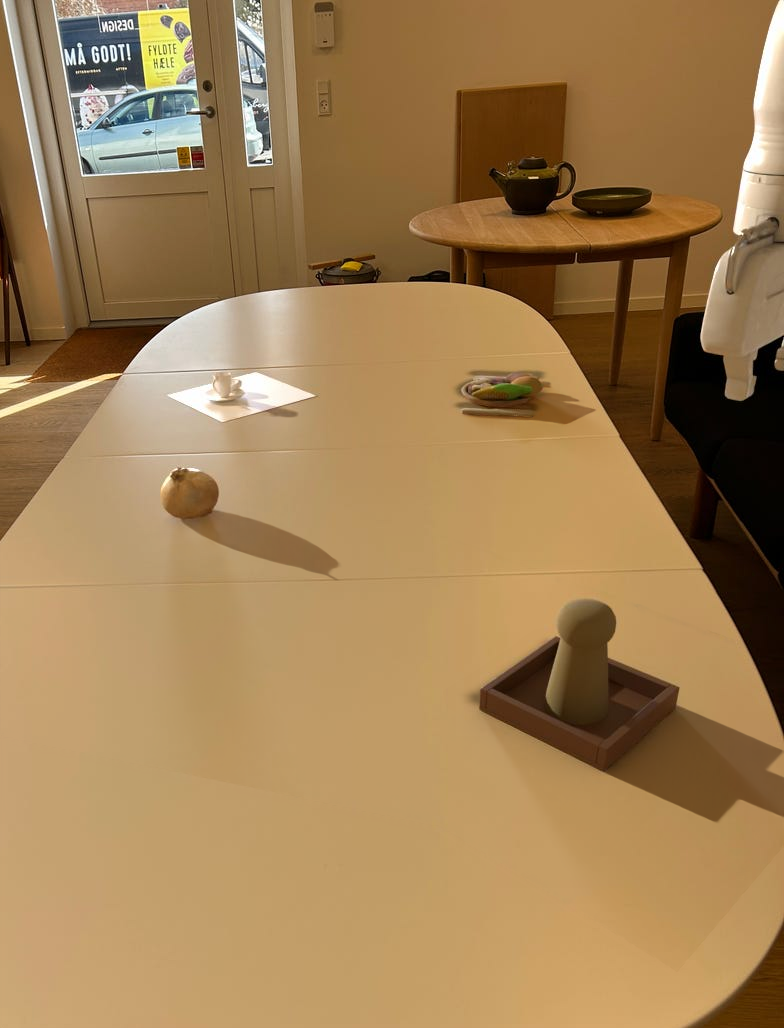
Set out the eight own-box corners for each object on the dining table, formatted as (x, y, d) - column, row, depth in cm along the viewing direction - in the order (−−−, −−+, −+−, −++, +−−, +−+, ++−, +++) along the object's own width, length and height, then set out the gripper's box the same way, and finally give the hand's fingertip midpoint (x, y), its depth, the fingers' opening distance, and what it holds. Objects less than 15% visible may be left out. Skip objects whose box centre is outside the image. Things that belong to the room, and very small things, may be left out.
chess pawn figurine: (530, 707, 92) (540, 608, 86) (565, 680, 96) (576, 583, 90) (587, 733, 88) (601, 631, 83) (620, 703, 92) (636, 604, 86)
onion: (179, 499, 139) (173, 452, 135) (229, 505, 137) (225, 457, 133) (153, 522, 133) (146, 474, 129) (206, 529, 130) (200, 480, 126)
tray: (675, 708, 92) (679, 687, 90) (603, 771, 85) (606, 749, 83) (553, 656, 100) (555, 635, 99) (478, 709, 93) (480, 688, 92)
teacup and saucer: (234, 385, 182) (232, 364, 180) (257, 395, 177) (255, 373, 175) (194, 396, 178) (191, 374, 176) (216, 406, 173) (214, 384, 171)
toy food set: (467, 378, 179) (468, 356, 177) (543, 380, 176) (545, 357, 174) (455, 414, 163) (456, 391, 161) (539, 417, 160) (541, 393, 158)
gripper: (780, 235, 68) (744, 424, 75) (887, 192, 79) (847, 360, 87) (694, 228, 72) (668, 409, 79) (809, 188, 83) (777, 349, 91)
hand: (763, 383), depth 83 cm, fingers open, 8 cm apart
